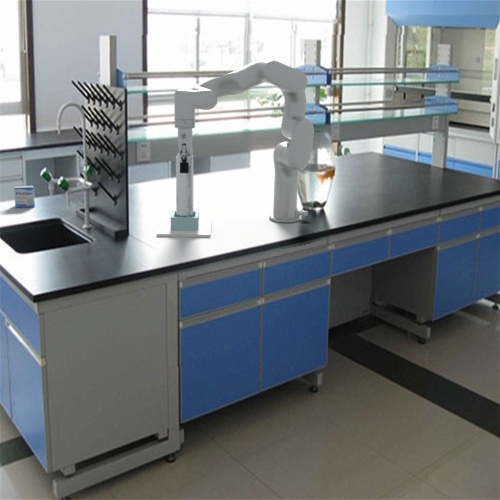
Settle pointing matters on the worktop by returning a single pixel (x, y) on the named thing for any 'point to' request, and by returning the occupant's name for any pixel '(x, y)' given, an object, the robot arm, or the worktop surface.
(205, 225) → the holder
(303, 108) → the robot arm
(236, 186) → the worktop surface
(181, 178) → the white cylinder
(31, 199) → the medicine box
